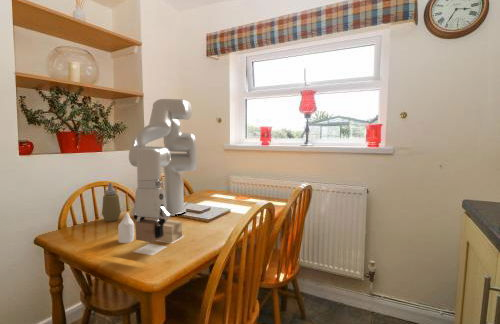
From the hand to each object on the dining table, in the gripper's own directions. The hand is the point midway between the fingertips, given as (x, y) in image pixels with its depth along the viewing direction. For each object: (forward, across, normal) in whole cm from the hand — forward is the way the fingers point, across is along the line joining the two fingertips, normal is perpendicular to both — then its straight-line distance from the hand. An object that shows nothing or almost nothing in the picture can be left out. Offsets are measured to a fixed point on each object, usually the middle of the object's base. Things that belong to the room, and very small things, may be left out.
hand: (150, 234), depth 97 cm
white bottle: (+7, +14, -4) cm, 16 cm away
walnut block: (+1, 0, 0) cm, 1 cm away
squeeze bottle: (+6, +42, -24) cm, 49 cm away
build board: (+6, 0, -6) cm, 9 cm away
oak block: (+5, 0, -11) cm, 12 cm away
